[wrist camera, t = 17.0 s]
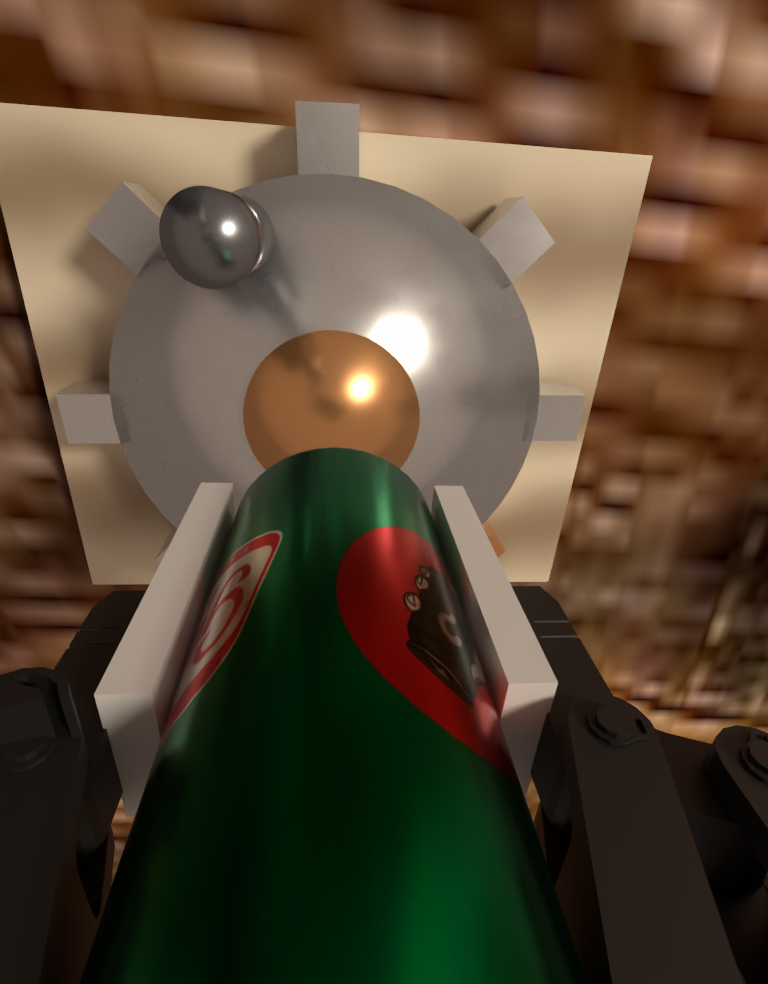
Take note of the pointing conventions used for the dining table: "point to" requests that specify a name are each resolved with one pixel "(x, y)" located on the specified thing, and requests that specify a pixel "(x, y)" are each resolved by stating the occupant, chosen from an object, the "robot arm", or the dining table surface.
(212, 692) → the soda can
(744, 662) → the dining table surface
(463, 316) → the sprocket
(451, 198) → the base board
